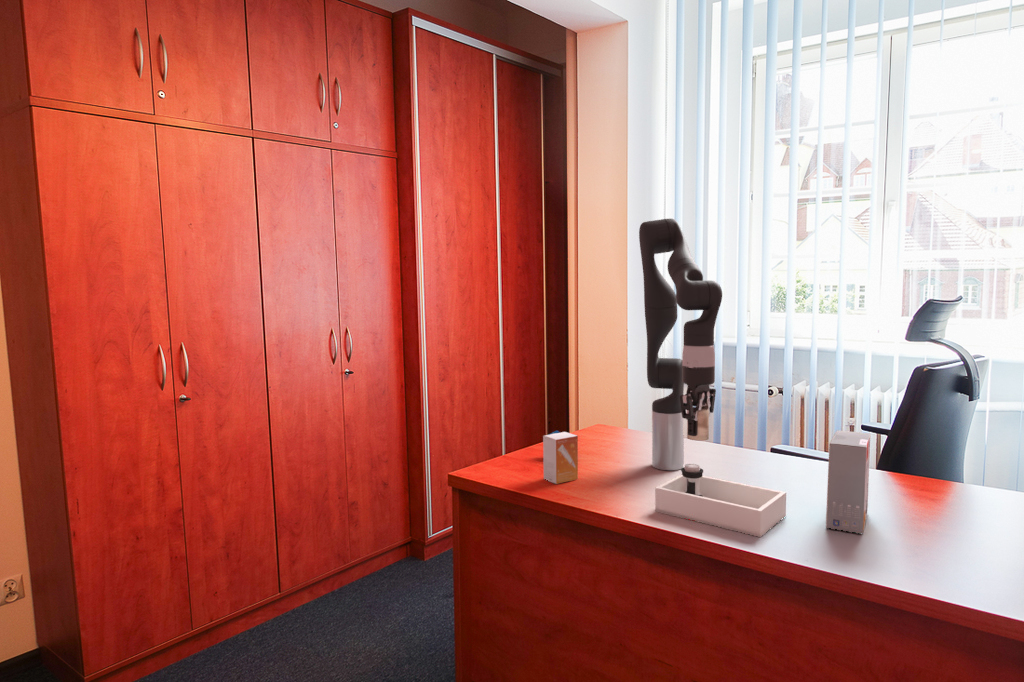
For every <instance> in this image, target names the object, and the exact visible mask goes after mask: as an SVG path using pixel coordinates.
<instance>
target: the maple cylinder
mask: <svg viewBox="0 0 1024 682" xmlns="http://www.w3.org/2000/svg"><path fill="white" fill-rule="evenodd" d="M693 413H694V411H693ZM686 421H687V423H686V424H687V425H686V426H687V427H686V428H687V429H686V431H687V432H686V436H687V437H686V438H687V439H688V440H691V441H695V442H696V441H700V442H701V441H703V442H704V441H708V440H709V438H710V437H709V436H710V434H709V431H710V430H709V428H710V425H709V424H710V416H709V410H708V409H704V408H701V411H700V412H699V413H698V418H697V421H698V433H697V436H690V435H688V420H687V419H686Z"/></svg>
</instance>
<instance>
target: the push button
mask: <svg viewBox="0 0 1024 682" xmlns="http://www.w3.org/2000/svg"><path fill="white" fill-rule="evenodd" d="M680 471H681V474H682V475H683V476H684V477H685V490H684V492H685V493H688V494H693V495H697V496H702V495H700V493H699V478H701V477H702V476H703V473H704V469H702V468H701V467H700V465H699V464H695V463H687V464H685V465H684V466H683V468H681V469H680ZM702 497H703V496H702Z"/></svg>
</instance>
